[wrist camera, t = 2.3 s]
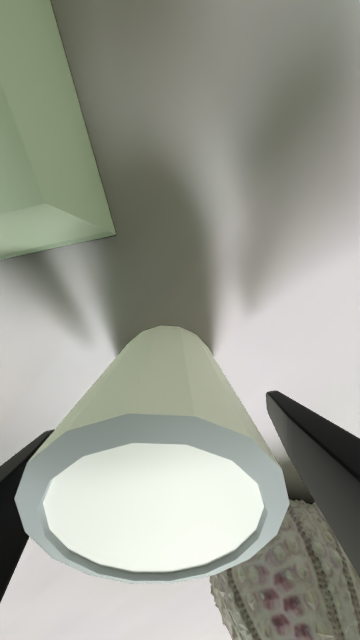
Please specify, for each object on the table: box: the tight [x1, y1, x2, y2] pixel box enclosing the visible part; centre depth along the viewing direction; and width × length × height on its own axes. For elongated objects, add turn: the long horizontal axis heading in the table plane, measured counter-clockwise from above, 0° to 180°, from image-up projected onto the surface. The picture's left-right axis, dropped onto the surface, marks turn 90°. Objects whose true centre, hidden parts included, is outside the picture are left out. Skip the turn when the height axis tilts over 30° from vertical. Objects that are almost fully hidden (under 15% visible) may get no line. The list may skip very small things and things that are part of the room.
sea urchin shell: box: [210, 499, 360, 640], centre depth 13 cm, size 13×14×8 cm
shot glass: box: [14, 325, 290, 584], centre depth 8 cm, size 7×7×7 cm
